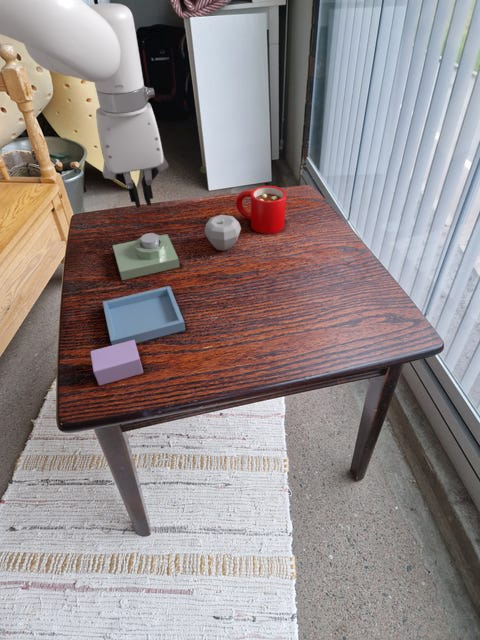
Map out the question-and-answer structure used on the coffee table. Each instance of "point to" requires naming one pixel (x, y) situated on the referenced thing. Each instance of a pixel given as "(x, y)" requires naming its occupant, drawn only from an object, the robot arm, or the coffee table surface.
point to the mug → (264, 208)
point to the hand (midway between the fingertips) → (142, 202)
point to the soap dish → (143, 316)
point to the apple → (222, 231)
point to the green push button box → (145, 258)
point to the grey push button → (149, 241)
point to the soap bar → (116, 362)
